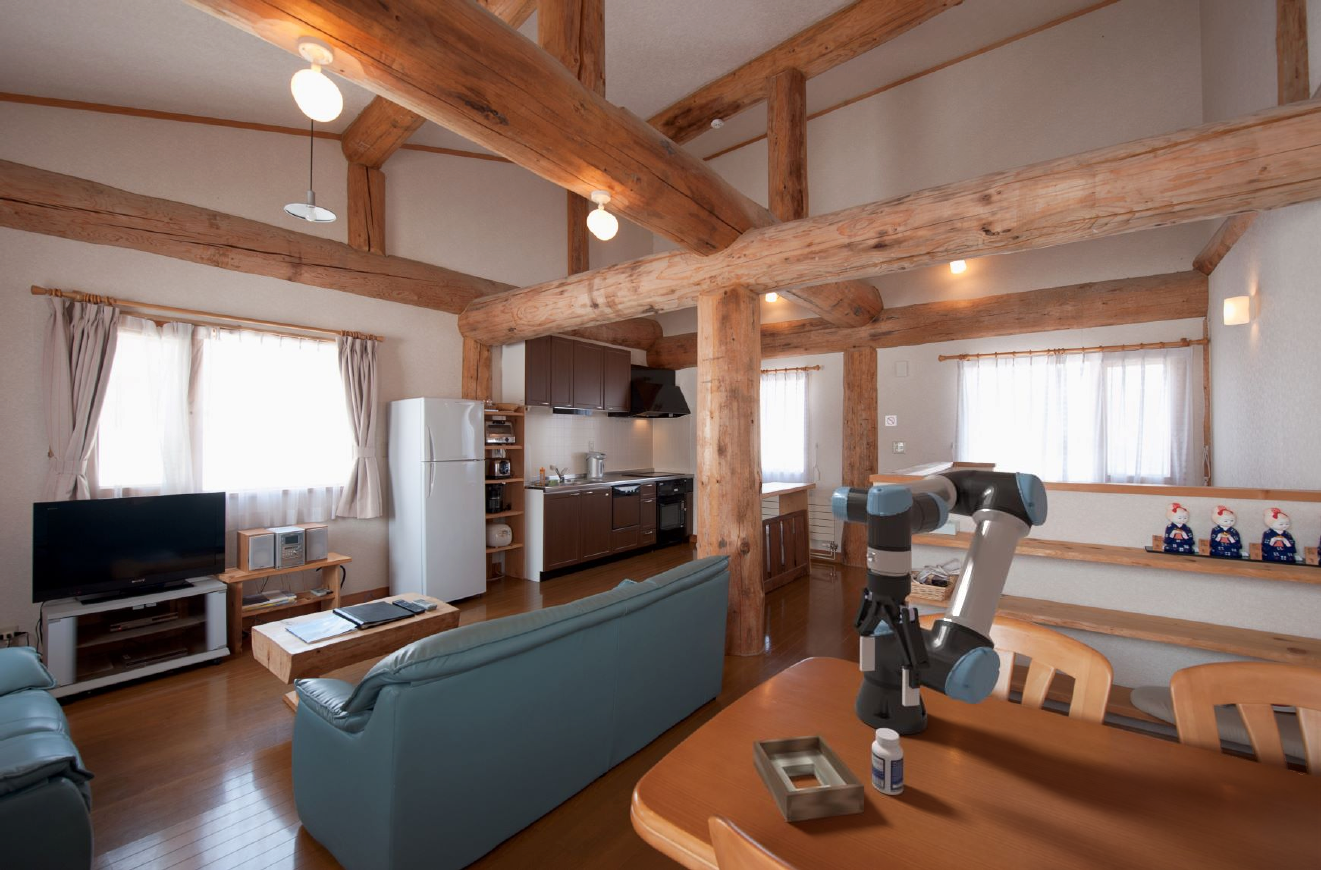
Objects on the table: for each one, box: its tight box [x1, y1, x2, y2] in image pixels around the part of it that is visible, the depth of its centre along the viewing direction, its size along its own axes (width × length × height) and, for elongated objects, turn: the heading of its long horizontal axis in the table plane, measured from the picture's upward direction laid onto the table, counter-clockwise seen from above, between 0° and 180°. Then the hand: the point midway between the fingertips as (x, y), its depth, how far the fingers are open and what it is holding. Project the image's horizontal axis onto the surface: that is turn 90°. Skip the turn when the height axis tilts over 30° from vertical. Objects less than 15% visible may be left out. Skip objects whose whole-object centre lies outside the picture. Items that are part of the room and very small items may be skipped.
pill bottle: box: [871, 728, 904, 796], centre depth 100 cm, size 5×5×10 cm
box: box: [752, 734, 865, 823], centre depth 100 cm, size 14×16×4 cm
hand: (887, 686), depth 100 cm, fingers open, 13 cm apart
